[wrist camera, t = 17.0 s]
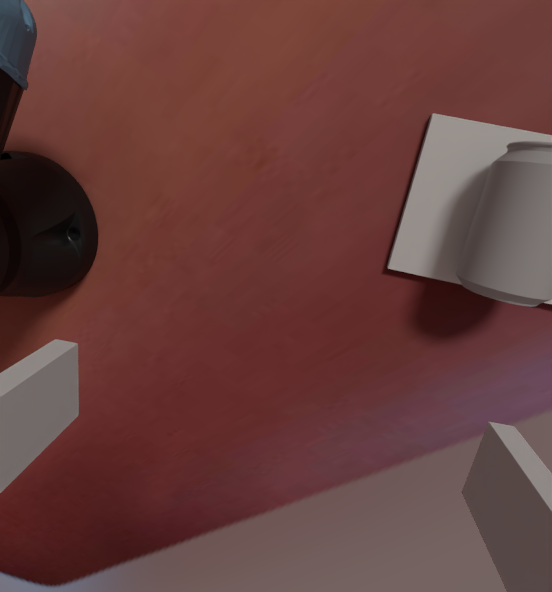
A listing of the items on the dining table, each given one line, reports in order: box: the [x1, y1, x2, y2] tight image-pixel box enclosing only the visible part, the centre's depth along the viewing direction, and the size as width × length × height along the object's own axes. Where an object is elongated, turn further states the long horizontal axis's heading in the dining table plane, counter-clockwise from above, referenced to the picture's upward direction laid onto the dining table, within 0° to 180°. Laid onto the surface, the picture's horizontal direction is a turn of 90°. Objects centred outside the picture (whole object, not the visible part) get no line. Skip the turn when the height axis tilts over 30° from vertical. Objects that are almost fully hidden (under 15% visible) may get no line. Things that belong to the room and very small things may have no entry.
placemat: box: [387, 113, 552, 304], centre depth 35 cm, size 20×14×1 cm
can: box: [456, 141, 552, 307], centre depth 31 cm, size 8×8×12 cm
